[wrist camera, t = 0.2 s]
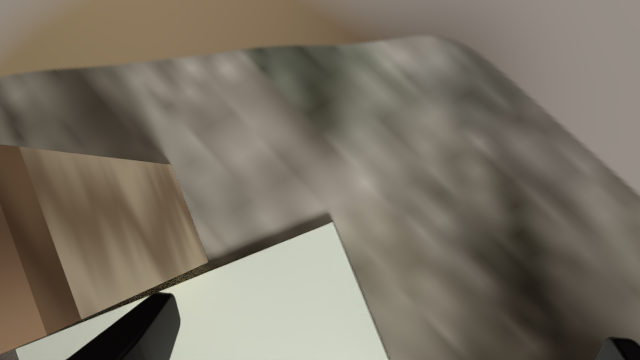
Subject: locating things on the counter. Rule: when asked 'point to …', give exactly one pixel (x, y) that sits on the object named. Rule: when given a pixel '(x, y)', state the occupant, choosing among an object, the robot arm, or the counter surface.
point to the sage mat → (258, 309)
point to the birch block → (84, 237)
